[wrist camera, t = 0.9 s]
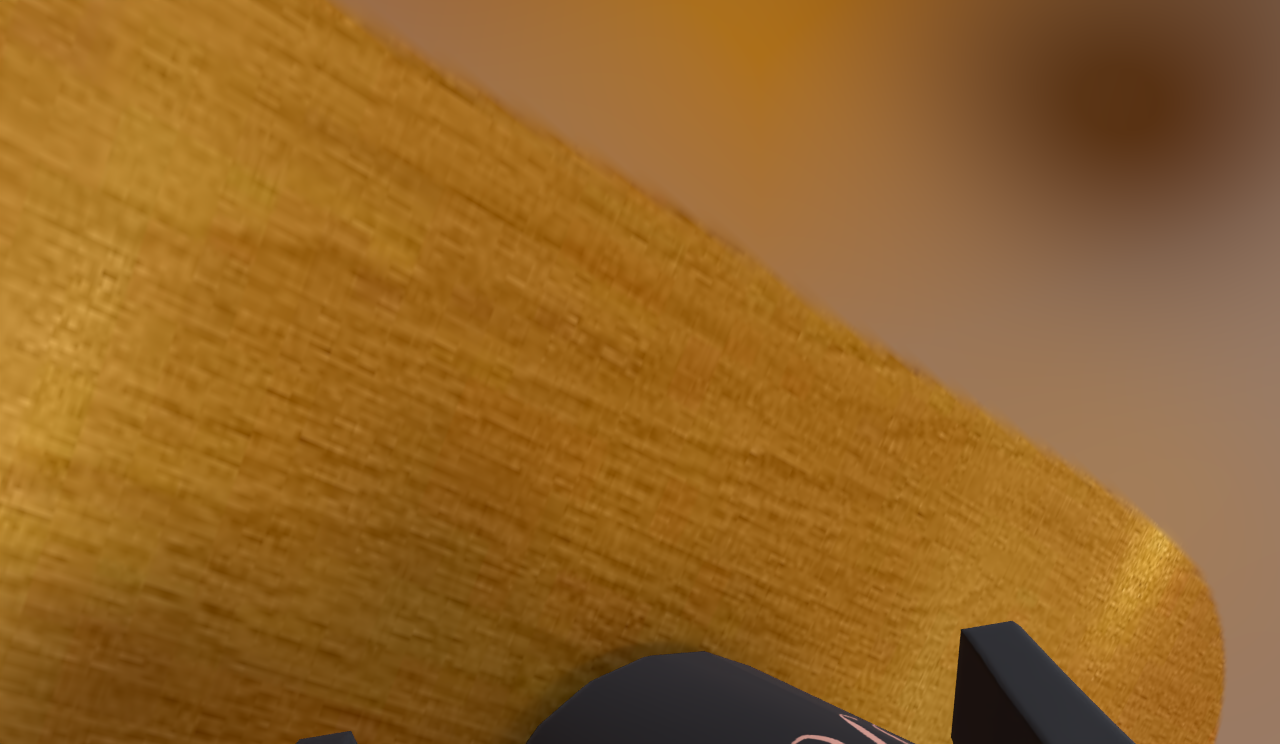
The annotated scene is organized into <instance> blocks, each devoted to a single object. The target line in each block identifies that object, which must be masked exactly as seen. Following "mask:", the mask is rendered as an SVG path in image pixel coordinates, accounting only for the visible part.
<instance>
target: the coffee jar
mask: <svg viewBox="0 0 1280 744" xmlns="http://www.w3.org/2000/svg"><path fill="white" fill-rule="evenodd" d="M526 744H914V743H912V742H910V741H908V740H906V739H904V738H902V737H900V736H897V735H895V734H893V733H891V732H889V731H887V730H885V729H883V728H880V727H878V726H876V725H874V724H872V723H870V722H868V721H866V720H863V719H861V718H859V717H857V716H855V715H853V714H851V713H849V712H846V711H844V710H842V709H840V708H838V707H836V706H834V705H831V704H829V703H827V702H825V701H823V700H821V699H819V698H817V697H814V696H812V695H810V694H808V693H806V692H804V691H802V690H800V689H797V688H795V687H793V686H791V685H789V684H787V683H785V682H783V681H780V680H778V679H776V678H774V677H772V676H770V675H768V674H765V673H763V672H761V671H759V670H757V669H755V668H753V667H751V666H748V665H745V664H742V663H739V662H736V661H733V660H730V659H726V658H723V657H720V656H717V655H714V654H711V653H708V652H705V651H701V652H689V653H677V654H665V655H653V656H648V657H643V658H641V659H639V660H636V661H634V662H632V663H630V664H628V665H625V666H623V667H621V668H619V669H616V670H614V671H612V672H610V673H608V674H605V675H603V676H601V677H599V678H597V679H594V680H592V681H590V682H589V683H588V684H587V685H585V686H584V687H583V688H581V689H580V690H579V691H578V692H577V693H576V694H574V695H573V696H572V697H571V698H570V699H569V700H568V701H566V702H565V703H564V704H563V705H562V706H561V707H559V708H558V709H557V710H556V711H555V712H554V713H552V714H551V715H550V716H549V717H548V718H547V719H546V720H544V721H543V722H542V723H541V724H540V725H539V726H538V727H537V728H536V730H535V731H534V733H533V734H532V736H531V737H530V739H529V740H528V741H527V743H526Z"/></svg>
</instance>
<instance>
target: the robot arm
mask: <svg viewBox="0 0 1280 744" xmlns="http://www.w3.org/2000/svg"><path fill="white" fill-rule="evenodd" d="M951 738H952V741H953V744H1135V743H1134V742H1133V741H1132V740H1131V739H1130V738H1129V737H1128V736H1127V735H1126V734H1125V733H1124V732H1123V731H1122V730H1121V729H1120V728H1119V727H1118V726H1117V725H1116V724H1115V723H1114V722H1113V721H1112V720H1111V719H1110V718H1109V717H1108V716H1107V715H1106V714H1105V713H1104V712H1103V711H1102V710H1101V709H1100V708H1099V707H1098V706H1097V705H1096V704H1095V703H1094V702H1093V701H1092V700H1091V699H1090V698H1089V697H1088V696H1087V695H1086V694H1085V693H1084V692H1083V691H1082V690H1081V689H1080V688H1079V687H1078V686H1077V685H1076V684H1075V683H1074V682H1073V681H1072V680H1071V679H1070V678H1069V677H1068V676H1067V675H1066V674H1065V673H1064V672H1063V671H1062V670H1061V669H1060V668H1059V667H1058V666H1057V665H1056V663H1055V662H1054V661H1053V660H1052V659H1051V658H1050V657H1049V656H1048V655H1047V654H1046V653H1045V652H1044V651H1043V650H1042V649H1041V648H1040V647H1039V646H1038V645H1037V643H1036V642H1035V641H1034V640H1033V639H1032V638H1031V637H1030V636H1029V635H1028V634H1027V633H1026V632H1025V631H1024V630H1023V629H1022V627H1021V626H1019V625H1018V624H1016V623H1015V622H1013V621H1009V622H1003V623H997V624H991V625H985V626H979V627H973V628H967V629H961V636H960V646H959V657H958V668H957V679H956V689H955V700H954V711H953V722H952V733H951ZM296 744H357V742H356V740H355V738H354V736H353V734H352V732H351V731H347V732H341V733H335V734H329V735H323V736H317V737H311V738H305V739H299V741H298V742H297V743H296Z"/></svg>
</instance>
